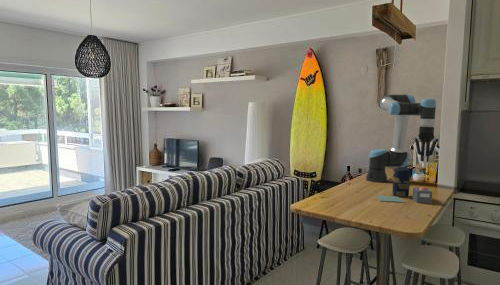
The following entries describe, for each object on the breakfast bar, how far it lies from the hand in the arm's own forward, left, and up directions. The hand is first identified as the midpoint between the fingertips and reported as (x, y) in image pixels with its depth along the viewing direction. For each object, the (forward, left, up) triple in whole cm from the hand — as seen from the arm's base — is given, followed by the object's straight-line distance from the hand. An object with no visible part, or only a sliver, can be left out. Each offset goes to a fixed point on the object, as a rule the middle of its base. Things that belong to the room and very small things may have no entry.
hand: (424, 167), depth 197 cm
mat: (0, -18, -20) cm, 27 cm away
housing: (0, 0, -20) cm, 20 cm away
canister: (-11, -9, -21) cm, 25 cm away
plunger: (0, 0, -19) cm, 19 cm away
